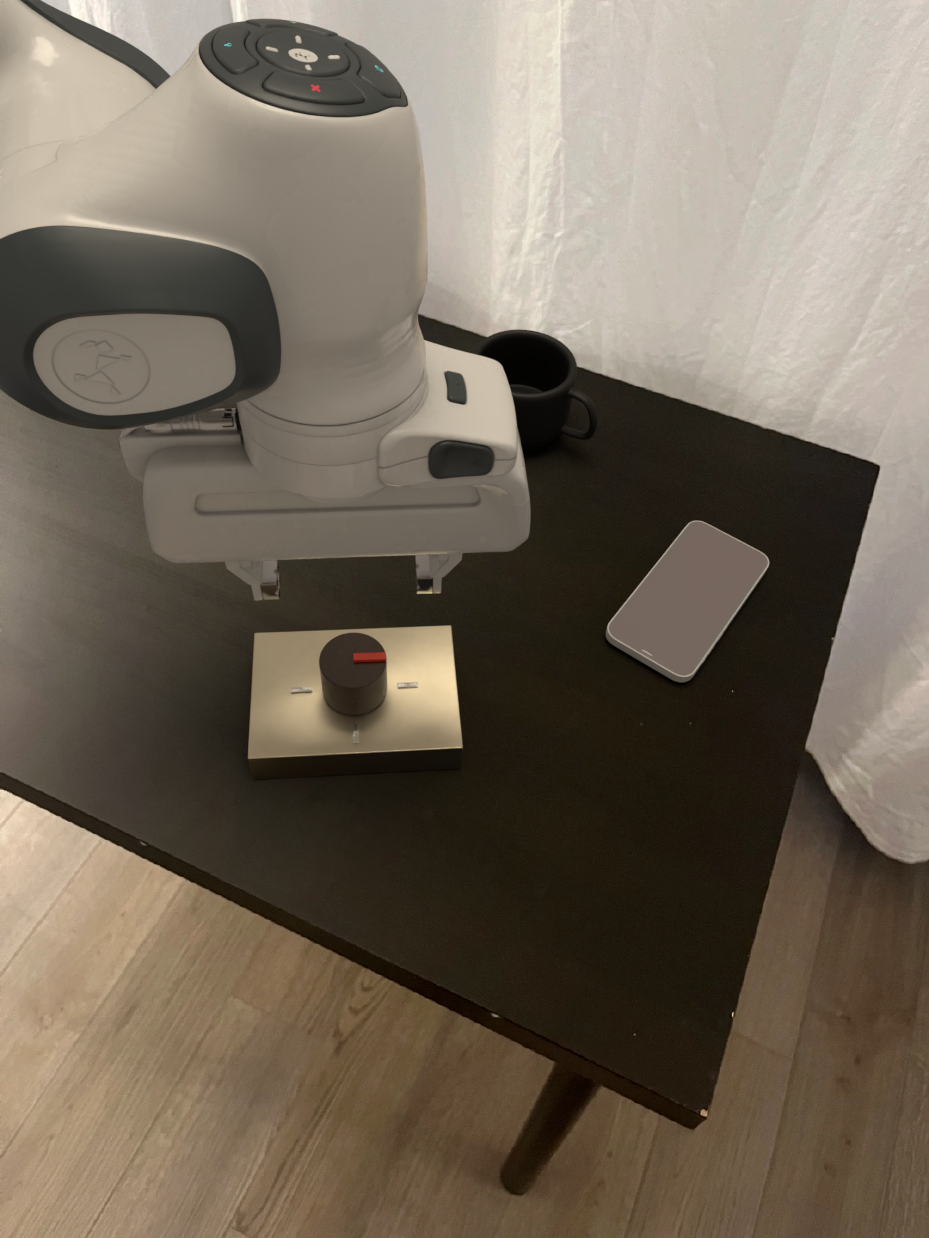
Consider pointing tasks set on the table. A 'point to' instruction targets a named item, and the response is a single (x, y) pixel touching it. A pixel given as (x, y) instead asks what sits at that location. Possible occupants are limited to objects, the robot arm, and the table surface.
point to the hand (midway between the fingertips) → (348, 588)
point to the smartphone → (687, 600)
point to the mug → (539, 384)
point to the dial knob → (353, 673)
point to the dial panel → (354, 744)
